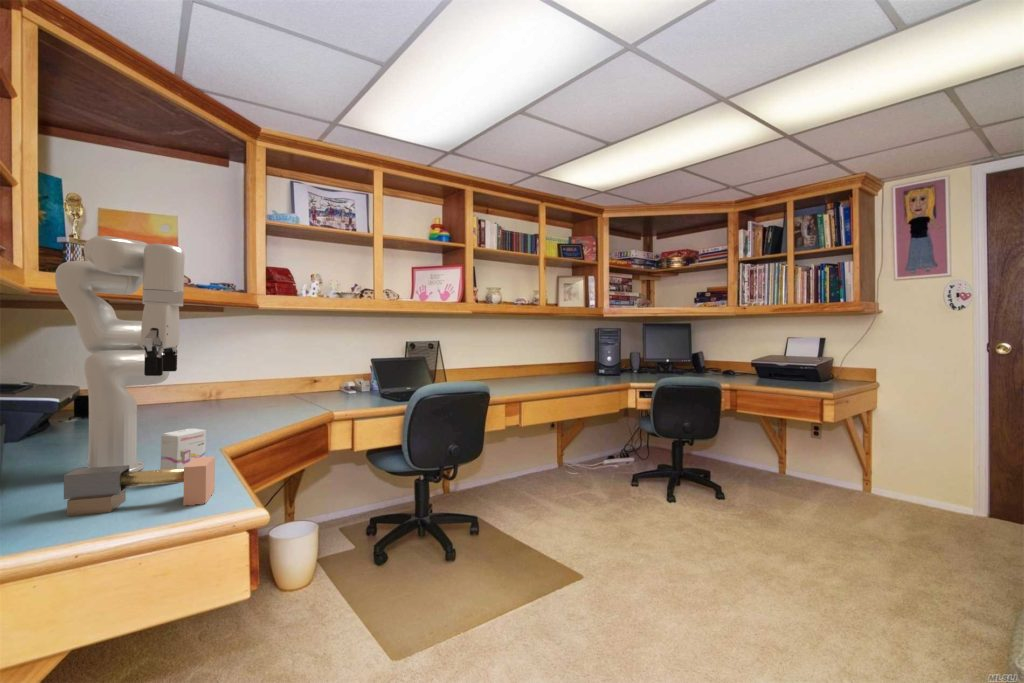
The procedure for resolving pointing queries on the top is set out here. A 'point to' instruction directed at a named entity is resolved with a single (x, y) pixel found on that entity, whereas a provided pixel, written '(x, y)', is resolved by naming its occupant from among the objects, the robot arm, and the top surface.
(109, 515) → the top surface
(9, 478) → the top surface
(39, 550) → the top surface
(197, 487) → the socket
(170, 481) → the tube
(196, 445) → the ink box
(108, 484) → the grey block
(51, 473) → the top surface
